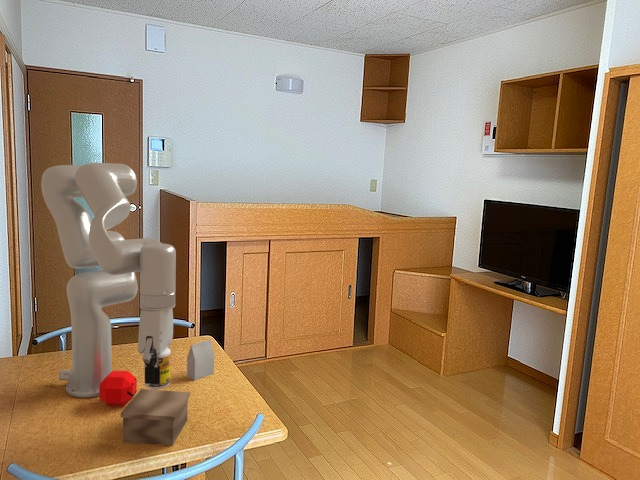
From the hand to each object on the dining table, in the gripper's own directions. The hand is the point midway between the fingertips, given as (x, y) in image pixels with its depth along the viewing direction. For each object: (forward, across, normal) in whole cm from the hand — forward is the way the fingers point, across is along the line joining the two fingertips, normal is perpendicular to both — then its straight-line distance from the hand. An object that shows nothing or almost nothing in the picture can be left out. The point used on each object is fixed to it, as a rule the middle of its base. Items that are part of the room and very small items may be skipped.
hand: (157, 376), depth 113 cm
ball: (+13, -12, -14) cm, 23 cm away
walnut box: (+13, 0, 0) cm, 13 cm away
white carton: (+13, -31, +2) cm, 34 cm away
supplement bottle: (+2, 0, 0) cm, 2 cm away
